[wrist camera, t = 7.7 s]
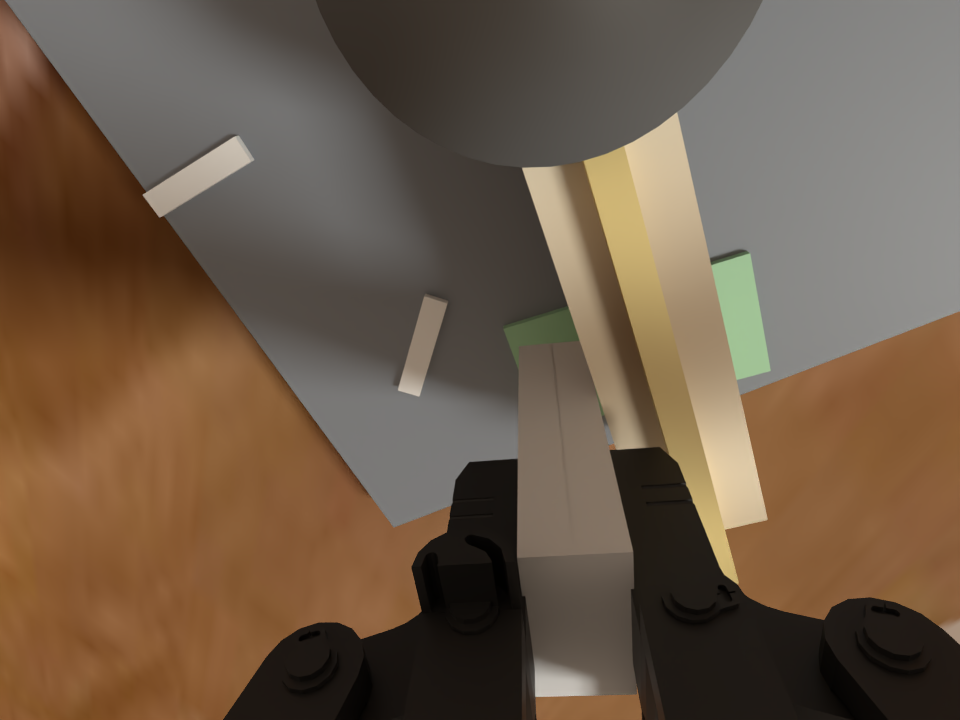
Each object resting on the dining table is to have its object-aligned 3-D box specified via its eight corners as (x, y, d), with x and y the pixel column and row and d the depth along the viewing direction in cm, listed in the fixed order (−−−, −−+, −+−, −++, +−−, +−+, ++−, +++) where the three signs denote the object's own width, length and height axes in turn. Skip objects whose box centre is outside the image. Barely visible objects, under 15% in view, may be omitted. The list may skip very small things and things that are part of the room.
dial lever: (327, -140, 11) (196, -278, 7) (647, -310, 10) (750, -624, 5) (566, 480, 17) (582, 628, 13) (786, 423, 16) (890, 565, 11)
